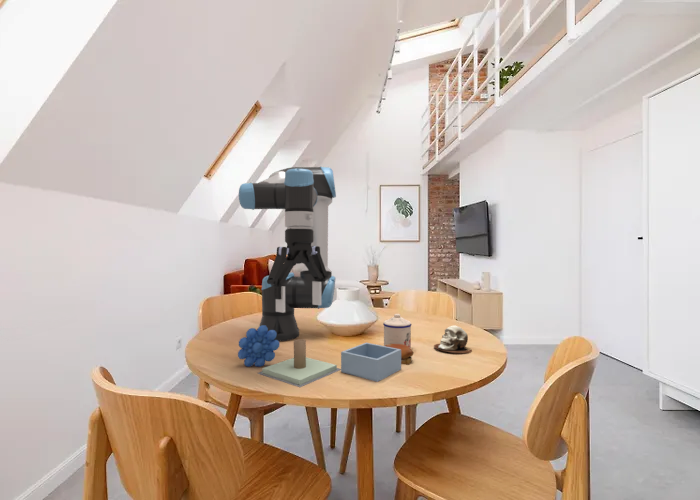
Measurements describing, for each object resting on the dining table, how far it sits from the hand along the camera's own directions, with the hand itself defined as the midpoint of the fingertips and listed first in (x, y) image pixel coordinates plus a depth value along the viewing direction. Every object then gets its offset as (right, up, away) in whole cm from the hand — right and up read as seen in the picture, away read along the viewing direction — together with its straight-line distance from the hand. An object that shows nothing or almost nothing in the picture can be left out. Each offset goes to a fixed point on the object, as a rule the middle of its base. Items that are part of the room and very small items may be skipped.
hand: (299, 308), depth 103 cm
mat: (0, -18, +1) cm, 18 cm away
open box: (+19, -18, +1) cm, 26 cm away
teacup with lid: (+29, -17, +24) cm, 41 cm away
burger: (+27, -18, +11) cm, 34 cm away
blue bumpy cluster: (-12, -18, +6) cm, 22 cm away
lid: (0, -17, +1) cm, 17 cm away
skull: (+47, -17, +23) cm, 55 cm away
